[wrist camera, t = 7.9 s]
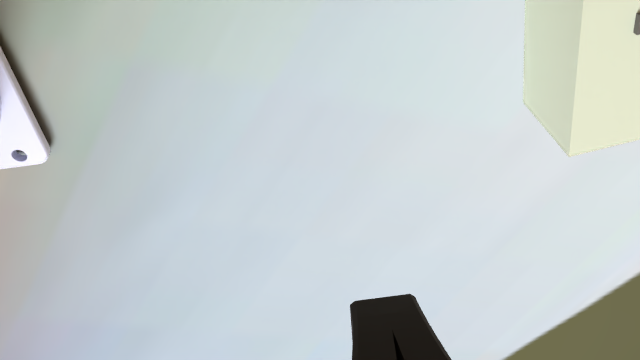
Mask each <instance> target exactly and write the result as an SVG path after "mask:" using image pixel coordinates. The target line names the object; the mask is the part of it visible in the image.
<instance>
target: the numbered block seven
mask: <svg viewBox="0 0 640 360" xmlns="http://www.w3.org/2000/svg"><path fill="white" fill-rule="evenodd" d="M523 103H524V104H525V106H526V107H527V108H528V109H529V110H530V111H531V113H532V114H533V115H534V116H535V117H536V119H537V120H538V121H539V122H540V123H541V125H542V126H543V127H544V128H545V129H546V130H547V132H548V133H549V134H550V135H551V136H552V138H553V139H554V140H555V141H556V142H557V143H558V145H559V146H560V147H561V148H562V149H563V151H564V152H565V153H566V154H567V155H568V157H571V156H575V155H579V154H583V153H587V152H591V151H595V150H599V149H603V148H607V147H611V146H615V145H619V144H623V143H627V142H631V141H635V140H639V139H640V0H525V30H524V77H523Z"/></svg>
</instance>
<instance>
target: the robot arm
mask: <svg viewBox="0 0 640 360" xmlns="http://www.w3.org/2000/svg"><path fill="white" fill-rule="evenodd" d="M16 150H21V151H23V152H25V153H26V154H27V155H21V154H18V153H17V152H16ZM50 152H51V150H50V146H49V144H48V142H47V140H46V138H45V136H44V134H43V132H42V130H41V128H40V126H39V124H38V122H37V120H36V118H35V116H34V114H33V112H32V110H31V108H30V106H29V104H28V102H27V100H26V98H25V96H24V94H23V92H22V90H21V87H20V85H19V83H18V81H17V79H16V77H15V75H14V73H13V71H12V69H11V67H10V65H9V63H8V61H7V59H6V57H5V55H4V53H3V51H2V49H1V47H0V169H5V168H13V167H21V166H28V165H36V164H41V163H44V162H45V161H46V160H47V159H48V157H49V155H50ZM350 312H351V326H352V340H353V350H352V360H451V358H450V357H449V355H448V354H447V352H446V351H445V349H444V347H443V346H442V344H441V343H440V341H439V339H438V338H437V336H436V335H435V333H434V331H433V330H432V328H431V326H430V325H429V323H428V321H427V319H426V317H425V316H424V314H423V312H422V310H421V308H420V306H419V304H418V302H417V300H416V298H415V297H414V296H413V295H411V294H406V295H398V296H390V297H382V298H375V299H367V300H359V301H354V302H353V303H352V304H351V305H350Z"/></svg>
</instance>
